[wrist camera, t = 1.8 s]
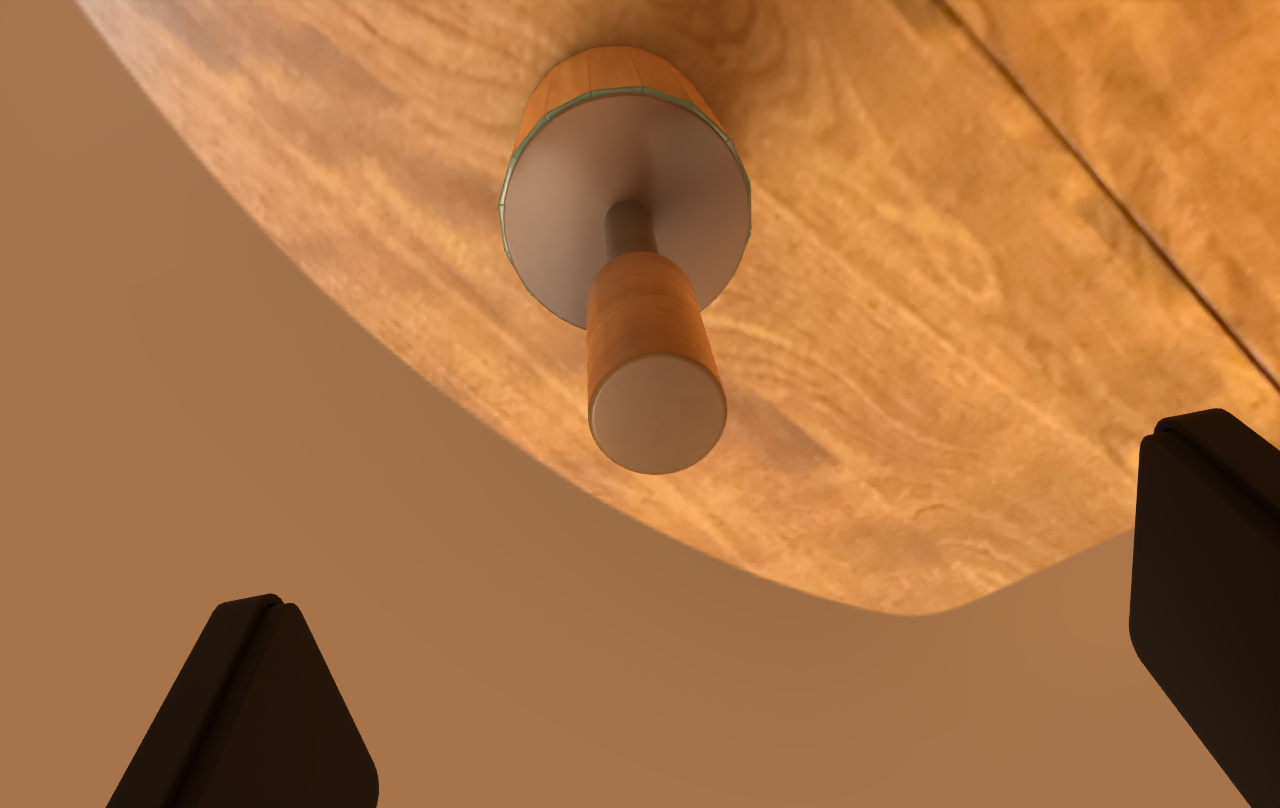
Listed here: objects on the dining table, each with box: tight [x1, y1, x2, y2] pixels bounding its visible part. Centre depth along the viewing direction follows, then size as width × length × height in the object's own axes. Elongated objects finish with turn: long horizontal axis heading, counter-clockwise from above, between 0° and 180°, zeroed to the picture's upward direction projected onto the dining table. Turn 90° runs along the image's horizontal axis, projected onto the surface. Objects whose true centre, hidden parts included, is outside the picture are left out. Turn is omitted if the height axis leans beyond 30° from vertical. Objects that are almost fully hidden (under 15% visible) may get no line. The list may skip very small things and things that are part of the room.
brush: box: [503, 92, 750, 475], centre depth 23 cm, size 6×6×19 cm
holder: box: [498, 46, 751, 298], centre depth 28 cm, size 7×7×9 cm
